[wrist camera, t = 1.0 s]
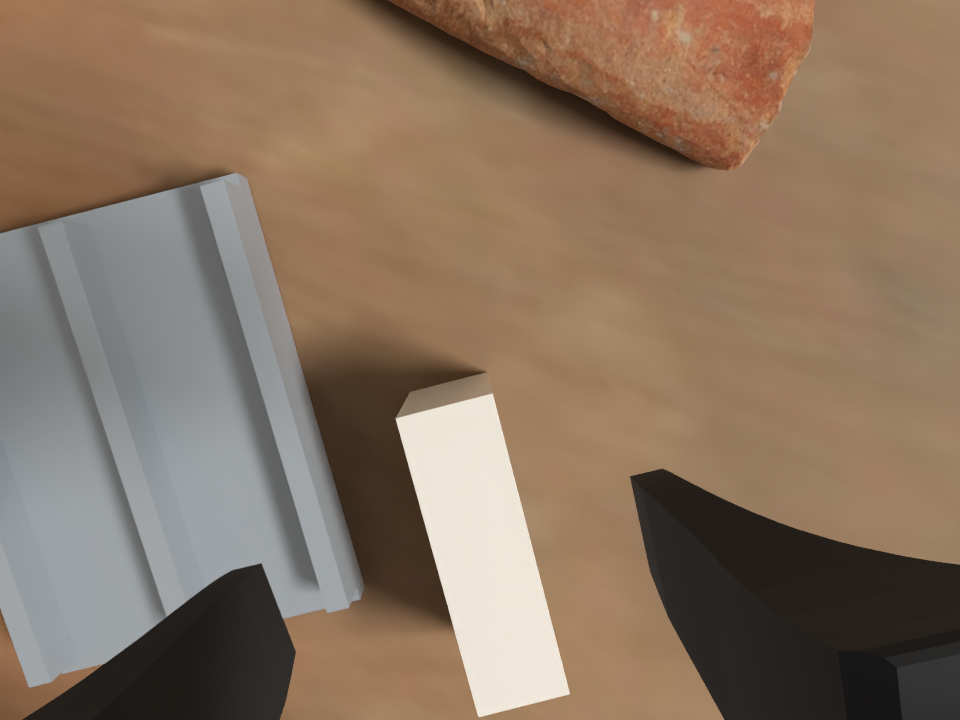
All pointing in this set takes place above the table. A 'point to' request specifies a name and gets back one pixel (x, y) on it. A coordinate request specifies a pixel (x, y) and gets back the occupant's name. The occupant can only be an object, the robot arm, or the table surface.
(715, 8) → the ceramic shard
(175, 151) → the table surface
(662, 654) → the table surface
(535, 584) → the white rectangular block
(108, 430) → the grey ridged tray
